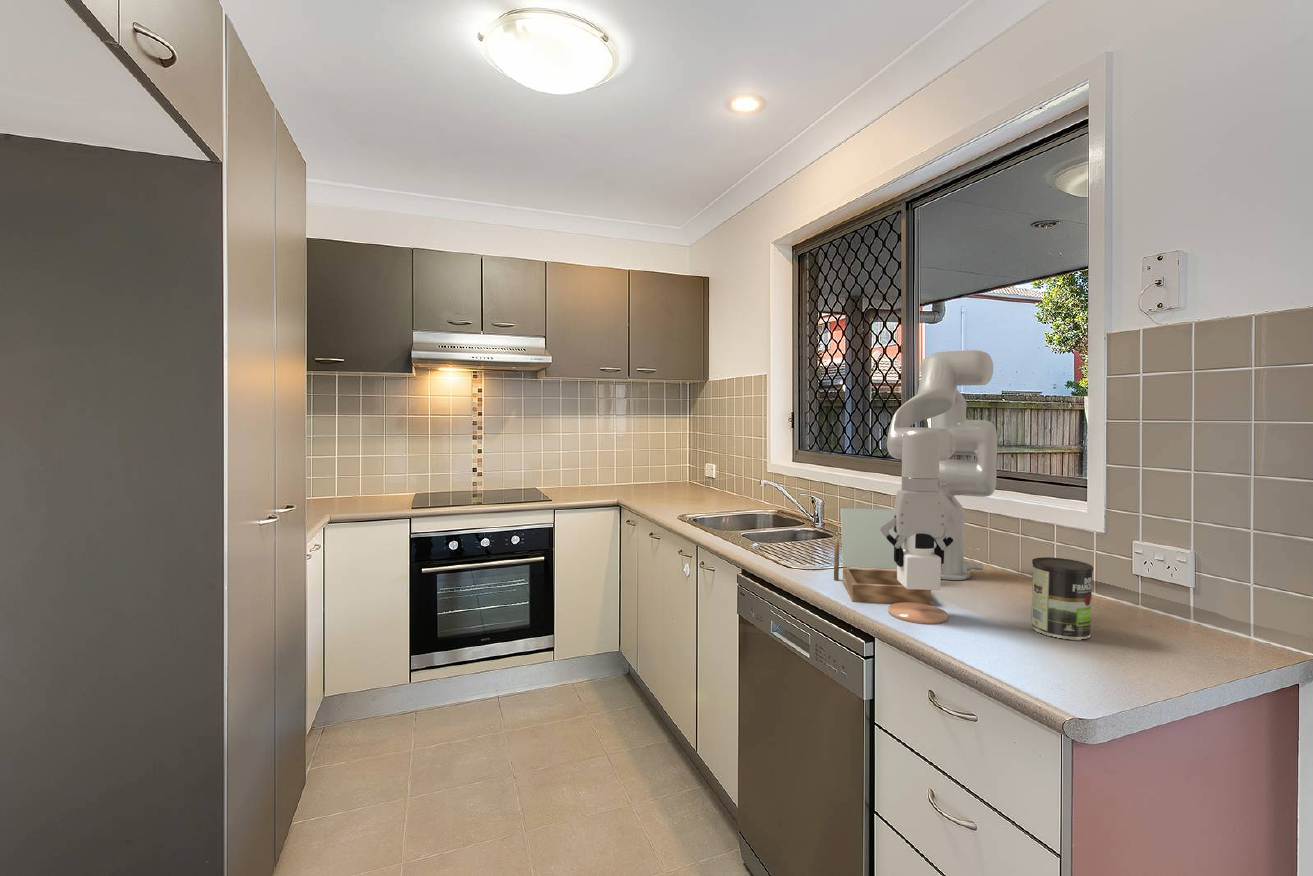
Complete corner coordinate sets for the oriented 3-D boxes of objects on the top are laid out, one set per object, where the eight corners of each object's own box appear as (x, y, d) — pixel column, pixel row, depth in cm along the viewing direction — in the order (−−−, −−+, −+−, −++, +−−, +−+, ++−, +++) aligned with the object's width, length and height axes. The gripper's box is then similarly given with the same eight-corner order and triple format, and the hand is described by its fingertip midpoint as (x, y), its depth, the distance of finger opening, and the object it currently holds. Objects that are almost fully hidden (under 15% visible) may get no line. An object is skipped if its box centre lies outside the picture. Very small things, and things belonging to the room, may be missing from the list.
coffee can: (1101, 635, 121) (1104, 565, 121) (1072, 644, 117) (1074, 572, 116) (1048, 619, 131) (1050, 554, 130) (1019, 627, 126) (1021, 560, 125)
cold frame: (913, 586, 155) (913, 570, 155) (930, 605, 140) (930, 588, 140) (842, 583, 158) (843, 567, 158) (852, 601, 143) (852, 584, 143)
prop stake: (838, 579, 162) (838, 538, 161) (838, 580, 160) (839, 539, 160) (833, 579, 162) (834, 538, 161) (834, 580, 161) (834, 539, 160)
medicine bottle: (929, 581, 136) (930, 528, 136) (940, 590, 129) (942, 534, 129) (896, 580, 137) (897, 527, 137) (906, 589, 130) (907, 534, 130)
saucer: (938, 607, 139) (938, 603, 139) (955, 625, 127) (955, 621, 127) (883, 604, 141) (883, 601, 141) (895, 622, 129) (895, 618, 129)
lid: (913, 569, 155) (911, 570, 157) (909, 510, 160) (907, 511, 161) (843, 566, 158) (842, 567, 160) (841, 508, 162) (840, 509, 164)
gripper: (956, 484, 135) (955, 563, 135) (875, 482, 138) (873, 560, 138) (968, 488, 127) (966, 572, 128) (881, 486, 130) (880, 568, 131)
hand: (918, 565), depth 133 cm, fingers closed on medicine bottle, 7 cm apart
